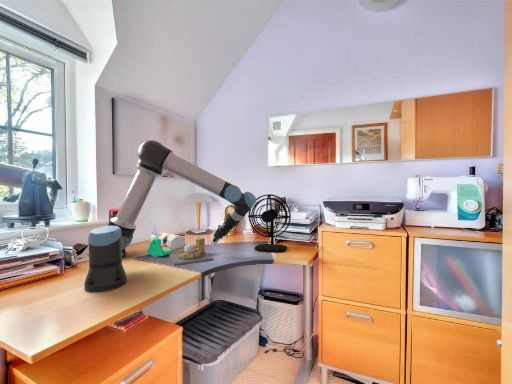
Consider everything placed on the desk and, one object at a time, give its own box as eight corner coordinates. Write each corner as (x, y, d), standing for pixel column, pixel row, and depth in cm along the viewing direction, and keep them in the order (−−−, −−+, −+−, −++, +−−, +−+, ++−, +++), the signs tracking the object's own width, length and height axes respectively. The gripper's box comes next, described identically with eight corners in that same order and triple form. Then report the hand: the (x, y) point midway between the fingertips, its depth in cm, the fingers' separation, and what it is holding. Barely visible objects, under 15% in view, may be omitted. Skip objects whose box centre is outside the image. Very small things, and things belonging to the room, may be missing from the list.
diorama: (150, 244, 179) (150, 226, 178) (163, 242, 187) (163, 224, 186) (171, 249, 163) (171, 229, 163) (185, 246, 172) (184, 227, 171)
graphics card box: (108, 253, 155) (107, 208, 154) (121, 251, 159) (120, 208, 158) (113, 259, 141) (111, 210, 140) (126, 257, 145) (125, 210, 145)
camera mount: (171, 254, 151) (171, 237, 151) (162, 258, 144) (162, 240, 144) (156, 252, 156) (156, 236, 156) (146, 256, 149) (146, 238, 149)
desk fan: (245, 251, 156) (244, 194, 155) (254, 245, 173) (253, 193, 172) (289, 254, 148) (288, 194, 147) (293, 247, 165) (293, 193, 164)
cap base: (212, 260, 138) (212, 247, 138) (174, 265, 130) (174, 251, 129) (203, 251, 156) (202, 240, 156) (169, 256, 148) (168, 244, 147)
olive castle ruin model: (189, 259, 135) (189, 244, 134) (174, 256, 141) (174, 242, 141) (210, 252, 149) (210, 239, 148) (196, 250, 155) (195, 237, 155)
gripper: (231, 223, 127) (207, 252, 137) (246, 220, 138) (223, 247, 148) (223, 212, 130) (200, 241, 140) (238, 210, 141) (216, 237, 150)
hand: (212, 244), depth 144 cm, fingers closed
